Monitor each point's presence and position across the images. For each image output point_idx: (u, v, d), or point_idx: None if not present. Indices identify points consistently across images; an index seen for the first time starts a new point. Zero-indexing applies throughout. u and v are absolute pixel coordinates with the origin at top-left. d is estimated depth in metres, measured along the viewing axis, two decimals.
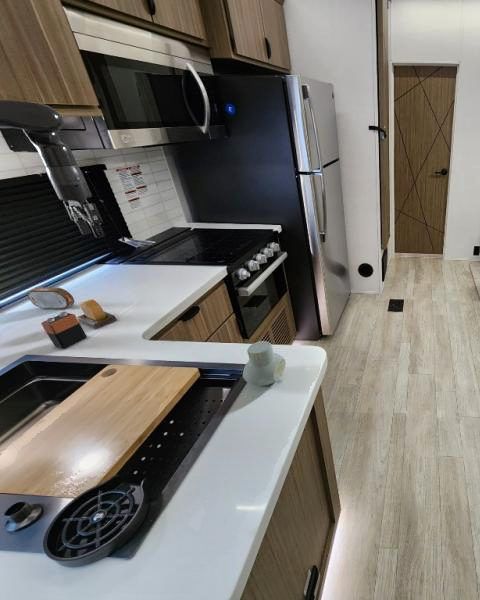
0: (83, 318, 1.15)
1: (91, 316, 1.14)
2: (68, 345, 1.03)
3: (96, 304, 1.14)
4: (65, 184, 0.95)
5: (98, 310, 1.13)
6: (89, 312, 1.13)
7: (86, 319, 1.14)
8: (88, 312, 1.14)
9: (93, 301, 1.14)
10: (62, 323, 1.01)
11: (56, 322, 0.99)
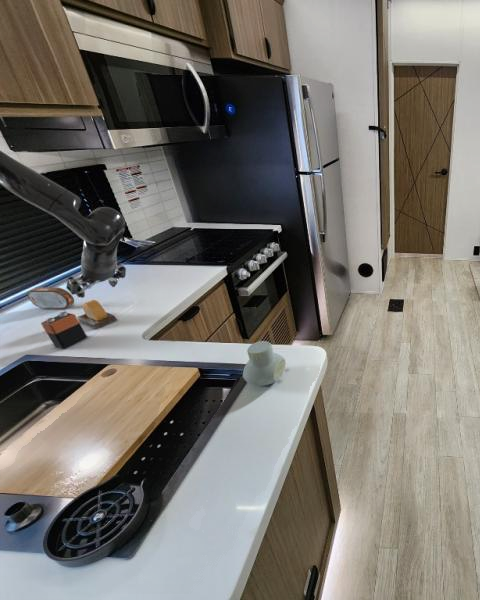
0: (83, 318, 1.15)
1: (93, 317, 1.14)
2: (68, 345, 1.03)
3: (100, 307, 1.13)
4: (81, 260, 0.93)
5: (101, 313, 1.13)
6: (92, 314, 1.13)
7: (86, 319, 1.14)
8: (90, 313, 1.13)
9: (97, 303, 1.13)
10: (62, 323, 1.01)
11: (56, 322, 0.99)
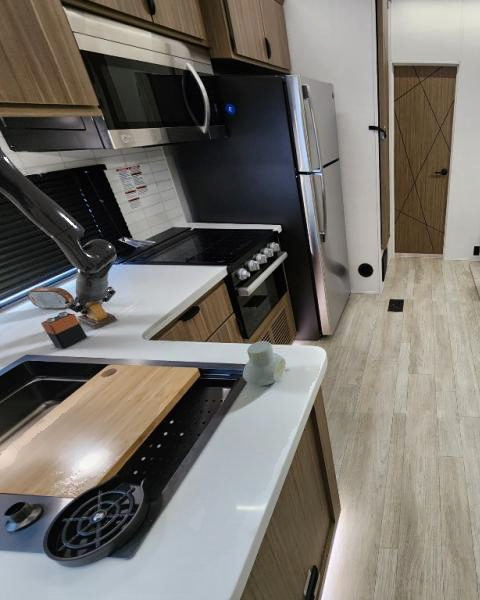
0: (83, 318, 1.15)
1: (93, 317, 1.14)
2: (68, 345, 1.03)
3: (100, 307, 1.13)
4: None
5: (101, 313, 1.13)
6: (91, 314, 1.13)
7: (86, 319, 1.14)
8: (90, 313, 1.13)
9: (97, 303, 1.13)
10: (62, 323, 1.01)
11: (56, 322, 0.99)
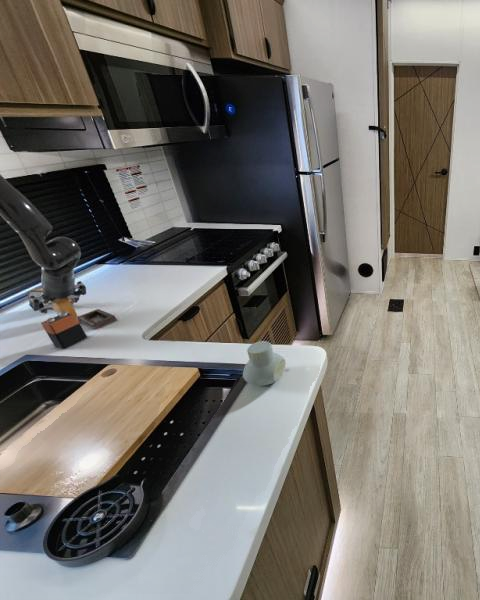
0: (83, 318, 1.15)
1: None
2: (68, 345, 1.03)
3: (68, 304, 1.15)
4: None
5: (69, 310, 1.15)
6: (60, 311, 1.15)
7: (86, 319, 1.14)
8: (59, 311, 1.15)
9: (65, 301, 1.15)
10: (62, 323, 1.01)
11: (56, 322, 0.99)
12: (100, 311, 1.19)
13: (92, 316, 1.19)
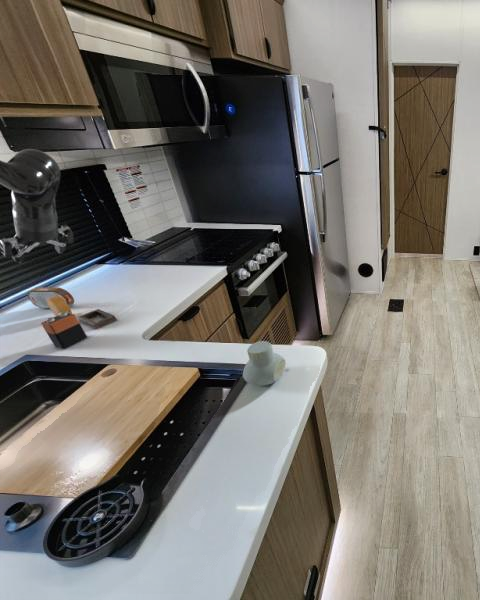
0: (83, 318, 1.15)
1: (55, 309, 1.16)
2: (68, 345, 1.03)
3: (56, 296, 1.17)
4: None
5: (57, 299, 1.16)
6: (52, 305, 1.16)
7: (86, 319, 1.14)
8: (52, 307, 1.17)
9: (55, 296, 1.18)
10: (62, 323, 1.01)
11: (56, 322, 0.99)
12: (100, 311, 1.19)
13: (92, 316, 1.19)
